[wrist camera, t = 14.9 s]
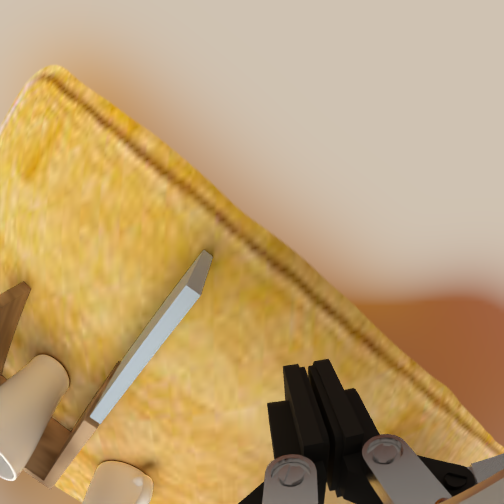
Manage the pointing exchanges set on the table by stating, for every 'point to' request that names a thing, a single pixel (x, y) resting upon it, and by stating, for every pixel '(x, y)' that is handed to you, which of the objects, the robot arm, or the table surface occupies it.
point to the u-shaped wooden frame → (55, 435)
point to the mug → (119, 485)
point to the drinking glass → (28, 410)
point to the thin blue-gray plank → (154, 334)
